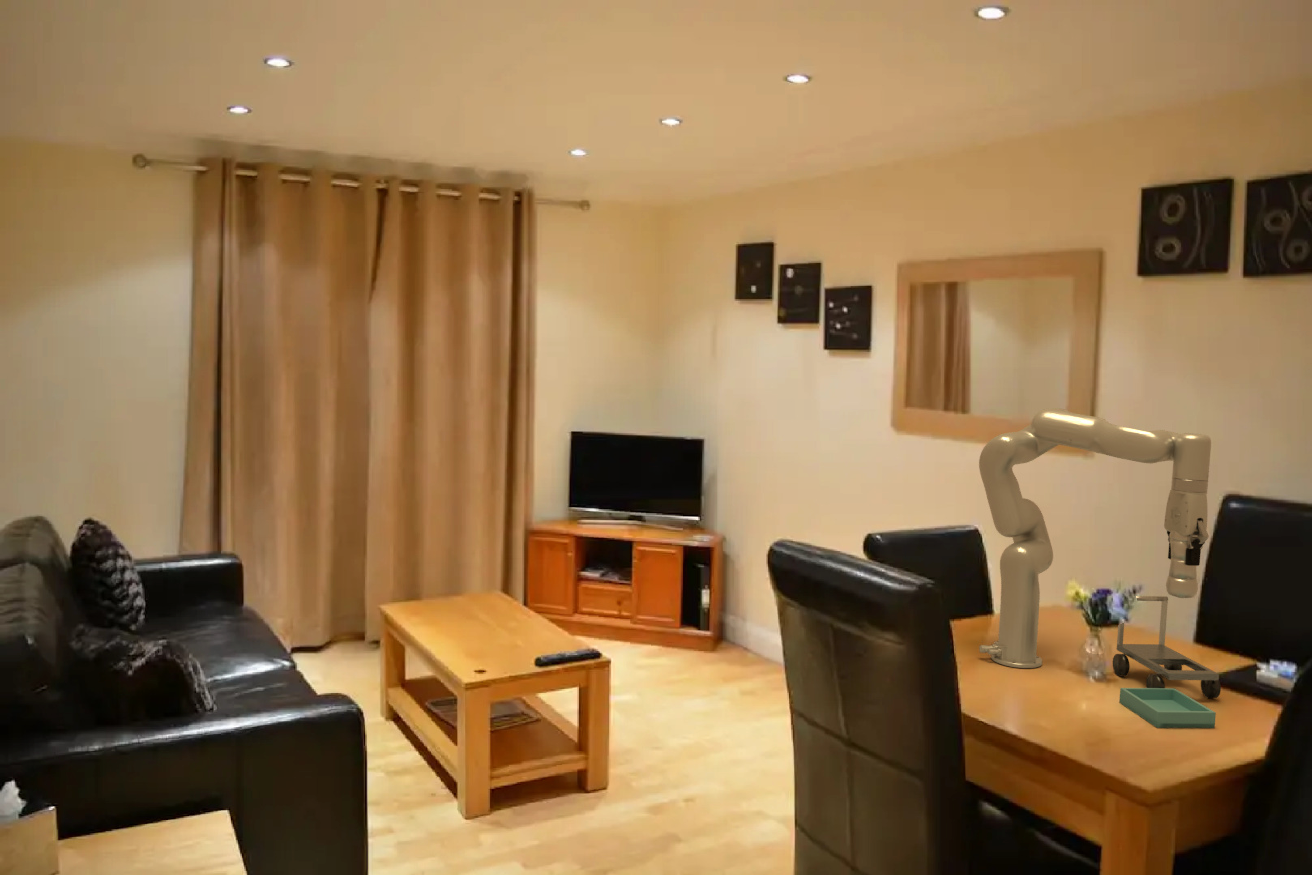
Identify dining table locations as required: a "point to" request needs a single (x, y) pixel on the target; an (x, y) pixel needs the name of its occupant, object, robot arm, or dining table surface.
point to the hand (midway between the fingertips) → (1183, 561)
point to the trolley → (1163, 659)
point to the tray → (1167, 708)
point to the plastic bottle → (1181, 569)
